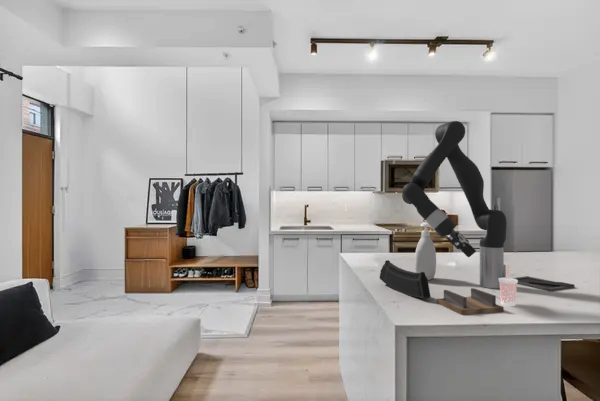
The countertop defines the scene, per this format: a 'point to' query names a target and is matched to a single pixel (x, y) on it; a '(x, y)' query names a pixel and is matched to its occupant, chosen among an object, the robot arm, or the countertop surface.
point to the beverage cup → (508, 290)
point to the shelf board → (470, 302)
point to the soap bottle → (425, 254)
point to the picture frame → (543, 284)
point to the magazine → (405, 281)
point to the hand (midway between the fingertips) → (472, 254)
